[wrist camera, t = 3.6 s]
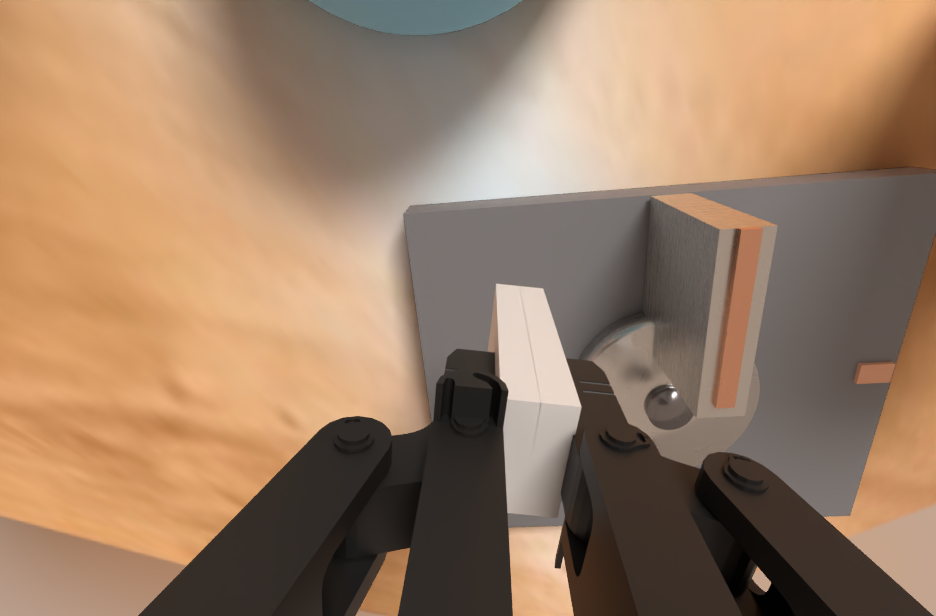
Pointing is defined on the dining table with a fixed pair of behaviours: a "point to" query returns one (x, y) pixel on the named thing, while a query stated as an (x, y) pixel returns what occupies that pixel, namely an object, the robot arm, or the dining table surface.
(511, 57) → the dining table surface
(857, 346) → the board
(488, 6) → the sugar bowl
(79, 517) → the dining table surface
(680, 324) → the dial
